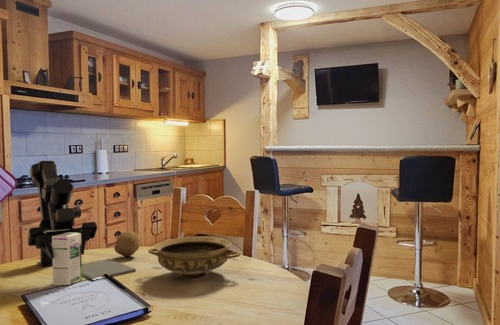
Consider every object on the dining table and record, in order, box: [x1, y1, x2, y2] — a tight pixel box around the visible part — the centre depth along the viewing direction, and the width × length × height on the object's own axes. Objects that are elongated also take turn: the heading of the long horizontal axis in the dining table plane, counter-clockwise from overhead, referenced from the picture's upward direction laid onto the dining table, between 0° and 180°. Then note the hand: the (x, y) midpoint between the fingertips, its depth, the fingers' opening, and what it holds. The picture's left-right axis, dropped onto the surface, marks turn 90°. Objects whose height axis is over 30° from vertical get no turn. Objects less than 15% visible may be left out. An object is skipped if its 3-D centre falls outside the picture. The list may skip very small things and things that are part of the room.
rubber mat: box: [82, 258, 137, 280], centre depth 126 cm, size 20×14×1 cm
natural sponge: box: [114, 230, 141, 257], centre depth 143 cm, size 9×9×10 cm
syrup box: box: [52, 232, 83, 287], centre depth 112 cm, size 6×6×14 cm
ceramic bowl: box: [147, 236, 241, 280], centre depth 118 cm, size 30×24×10 cm
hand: (68, 256), depth 111 cm, fingers closed on syrup box, 8 cm apart
